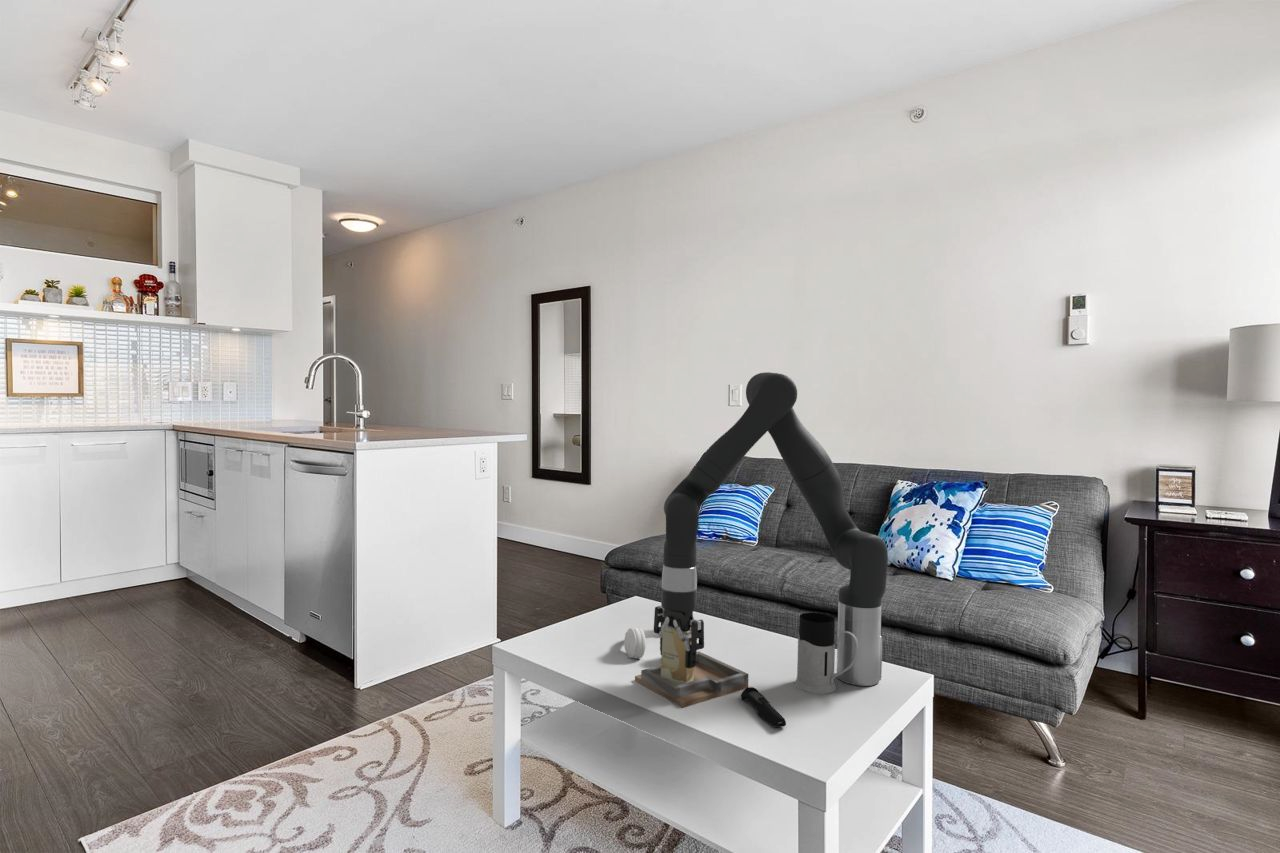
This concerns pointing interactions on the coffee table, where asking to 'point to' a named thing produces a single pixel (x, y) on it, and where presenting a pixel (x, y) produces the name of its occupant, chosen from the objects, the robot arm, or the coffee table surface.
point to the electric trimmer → (763, 707)
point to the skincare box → (674, 658)
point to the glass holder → (818, 653)
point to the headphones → (637, 641)
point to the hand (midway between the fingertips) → (677, 661)
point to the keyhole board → (697, 681)
